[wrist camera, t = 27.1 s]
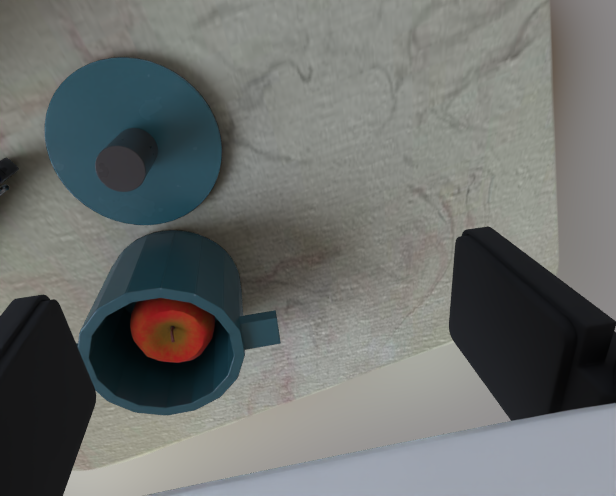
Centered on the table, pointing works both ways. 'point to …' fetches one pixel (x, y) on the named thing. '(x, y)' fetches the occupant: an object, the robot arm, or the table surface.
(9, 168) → the toy car
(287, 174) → the table surface
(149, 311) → the apple
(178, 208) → the lid
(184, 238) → the pot
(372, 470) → the robot arm
